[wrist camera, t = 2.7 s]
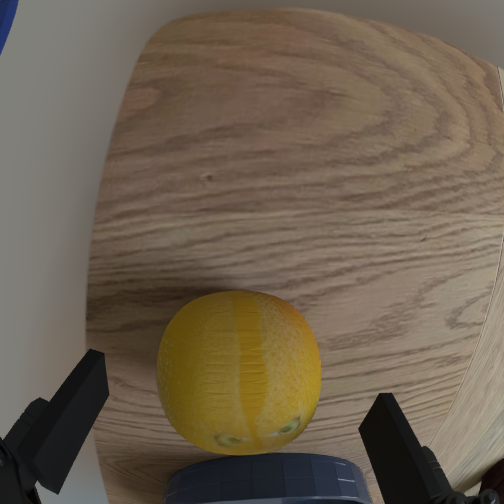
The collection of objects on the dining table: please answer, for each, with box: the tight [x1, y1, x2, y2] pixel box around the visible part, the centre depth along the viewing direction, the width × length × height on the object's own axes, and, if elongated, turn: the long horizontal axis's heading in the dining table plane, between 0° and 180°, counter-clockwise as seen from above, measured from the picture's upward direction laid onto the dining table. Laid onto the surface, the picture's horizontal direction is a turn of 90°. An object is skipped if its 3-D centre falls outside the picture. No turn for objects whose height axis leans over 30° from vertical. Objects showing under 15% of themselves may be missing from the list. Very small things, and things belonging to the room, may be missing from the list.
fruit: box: [156, 290, 321, 455], centre depth 13 cm, size 9×8×8 cm
